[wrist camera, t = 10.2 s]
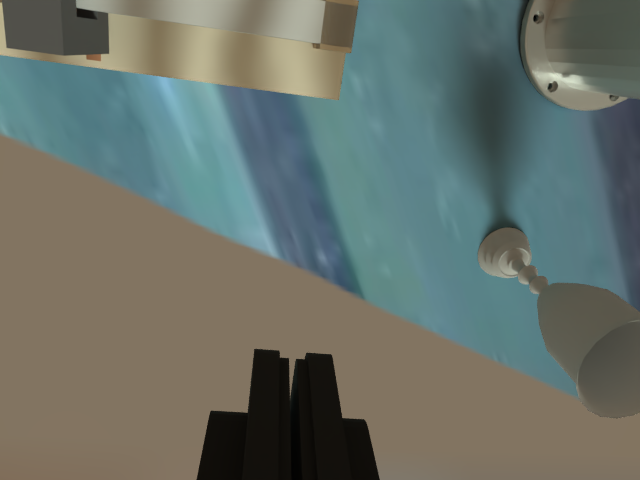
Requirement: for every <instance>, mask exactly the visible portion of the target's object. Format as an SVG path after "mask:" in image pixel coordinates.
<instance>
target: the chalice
mask: <svg viewBox="0 0 640 480" xmlns="http://www.w3.org/2000/svg"><path fill="white" fill-rule="evenodd" d="M478 261H479V264H480V267H481V268H482V269H483V270H484V271H485V272H486V273H488V274H490V275H493V276H498V277H503V278H513V277H516V276H518V279H519V281H520V282H521V283H522V284H530V291H531V292H532V293H534V294H539V297H538V300H537V308H538V319H539V326H540V329H541V332H542V336H543V339H544V342H545V345H546V349H547V351H548V352H549V353H550V354H551V356H552V357H553V358H554V359H555V360H556V361H557V363H558V364H559V365H560V366H561V367H562V368H563V369H564V371H565V372H566V373H567V374H568V375H569V376H570V377H571V379H572V380H573V381H574V382H575V383H576V388H577V392H578V395H579V399H580V401H581V402H582V404H583V405H584V406H585V407H586V408H587V410H588V411H590V412H592V413H594V414H597V415H599V416H600V417H609V418H621V417H626V416H632V415H635V414H637V413H639V412H640V312H639V311H638V310H636V309H635V308H634V307H632V306H631V305H630V304H628V303H627V302H625V301H624V300H623V299H621V298H620V297H619V296H617V295H616V294H614V293H612V292H611V291H609V290H607V289H603V288H598V287H594V286H590V285H584V284H577V283H553V284H551V285H548V280H547V278H546V277H544V276H537V275H538V271H537V269H536V267H534V266H532V265H530V262H531V251H530V247H529V242H528V238H527V237H526V236H525V234H524V233H523V232H521V231H520V230H518V229H515V228H509V227H508V228H501V229H498V230H496V231H494V232H492V233H491V234H489V235H488V236H487V237H486V238H485V239H484V241H483V242H482V244H481V245H480V248H479V251H478Z"/></svg>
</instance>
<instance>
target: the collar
mask: <svg viewBox="0 0 640 480" xmlns="http://www.w3.org/2000/svg"><path fill="white" fill-rule="evenodd" d="M2 7H3V17H4V28H5V38H6V48H10V49H18V50H25V51H32V52H40V53H47V54H54V55H62V56H70V55H93V54H109V23H108V13H105V12H99V11H92V10H85V9H78V8H77V11H76V0H2Z"/></svg>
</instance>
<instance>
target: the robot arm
mask: <svg viewBox="0 0 640 480" xmlns="http://www.w3.org/2000/svg"><path fill="white" fill-rule="evenodd" d="M534 15H535V16H536V19H535V21H533V17H534ZM520 44H521V56H522V61H523V65H524V69H525V71H526V73H527V76H528V78H529V80H530V82H531V83H532V84H533V86H534V87H535V89H536V90H537V91H538V92H539V93H540V94H541V95H542V96H544V97H545V98H546V99H547V100H549V101H551V102H552V103H554V104H556V105H558V106H562V107H565V108H569V109H574V110H582V111H588V110H599V109H603V108H606V107H610V106H613V105H615V104H617V103H620V102H622V101H624V100H626V99H627V98H634V99H640V0H530V1H529V3H528V5H527V8H526V11H525V15H524V18H523V21H522V29H521V36H520ZM548 84H550V86H549V88H548V89H547V87H548ZM289 387H290V386H289V358H280V352H279V351H276V350H263V349H254V358H253V368H252V378H251V387H250V396H249V406H248V413H241V412H224V411H211V412H210V415H209V420H208V425H207V430H206V435H205V441H204V445H203V450H202V455H201V461H200V465H199V471H198V476H197V480H380V479H379V475H378V470H377V466H376V461H375V457H374V452H373V448H372V444H371V439H370V435H369V430H368V426H367V424H366V421H365V420H364V419H346V418H342V413H341V407H340V401H339V395H338V389H337V383H336V376H335V370H334V364H333V358H332V355H331V354H316V353H306V356H305V359H296V362H295V369H294V376H293V383H292V390H291V397H290V388H289Z"/></svg>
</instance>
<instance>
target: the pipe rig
mask: <svg viewBox="0 0 640 480" xmlns="http://www.w3.org/2000/svg"><path fill="white" fill-rule="evenodd" d="M358 2H359V1H357V0H76V11H77V8H78V9H85V10H92V11H99V12H105V13H108V23H109V54H93V55H70V56H62V55H54V54H47V53H40V52H32V51H25V50H18V49H10V48H6V38H5V28H4V17H3V7H2V0H0V55H5V56H12V57H20V58H27V59H35V60H42V61H50V62H57V63H64V64H72V65H79V66H87V67H94V68H102V69H109V70H117V71H124V72H132V73H139V74H147V75H154V76H162V77H169V78H177V79H184V80H192V81H199V82H207V83H214V84H222V85H229V86H237V87H244V88H252V89H259V90H266V91H274V92H281V93H289V94H296V95H304V96H311V97H319V98H326V99H334V100H339V96H340V89H341V82H342V75H343V68H344V61H345V54H346V53H351V50H352V43H353V36H354V29H355V23H356V16H357V9H358Z"/></svg>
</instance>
